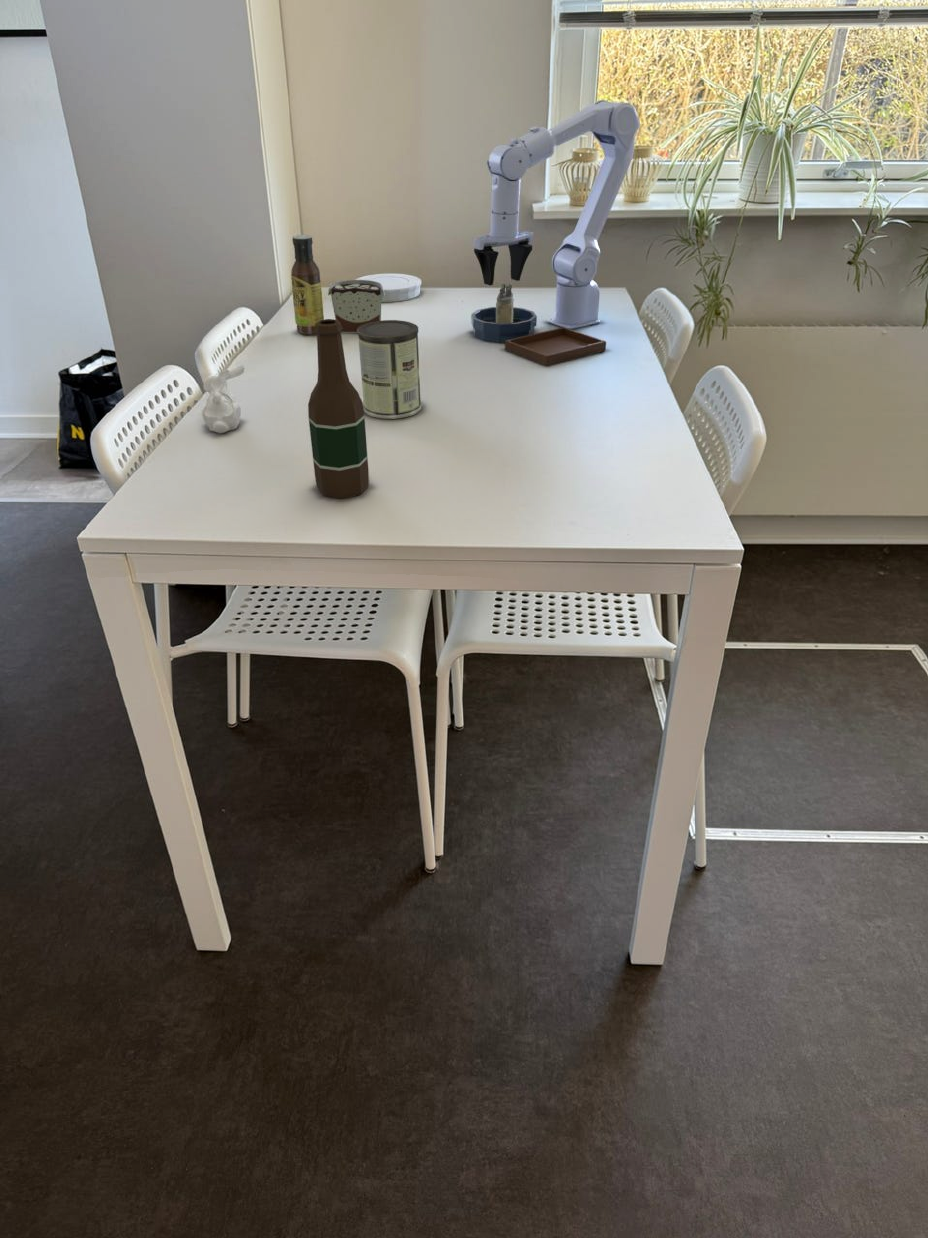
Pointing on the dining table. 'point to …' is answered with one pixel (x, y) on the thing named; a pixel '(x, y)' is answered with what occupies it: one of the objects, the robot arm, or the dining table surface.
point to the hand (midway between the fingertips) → (502, 281)
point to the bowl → (502, 325)
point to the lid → (396, 286)
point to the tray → (555, 346)
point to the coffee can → (389, 368)
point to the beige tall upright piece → (504, 305)
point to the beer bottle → (336, 420)
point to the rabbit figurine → (221, 402)
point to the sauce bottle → (306, 286)
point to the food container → (356, 303)
